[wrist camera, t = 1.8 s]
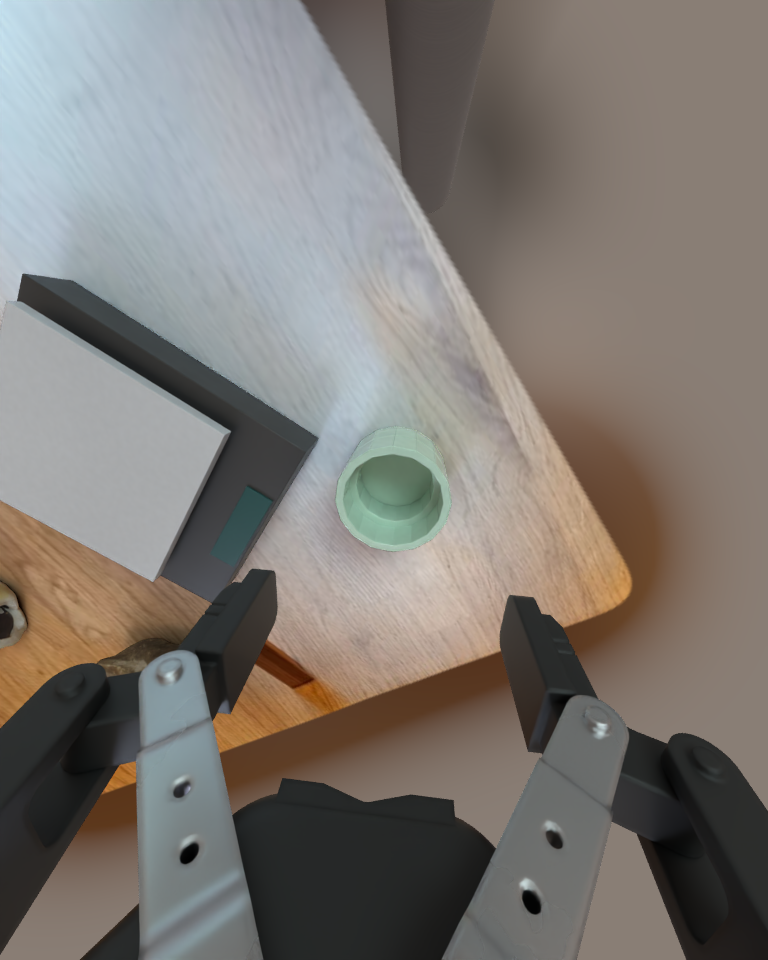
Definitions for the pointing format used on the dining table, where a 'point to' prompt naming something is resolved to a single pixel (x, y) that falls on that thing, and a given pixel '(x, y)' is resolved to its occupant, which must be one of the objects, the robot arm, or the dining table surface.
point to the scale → (135, 440)
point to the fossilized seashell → (136, 656)
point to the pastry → (10, 618)
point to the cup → (394, 490)
